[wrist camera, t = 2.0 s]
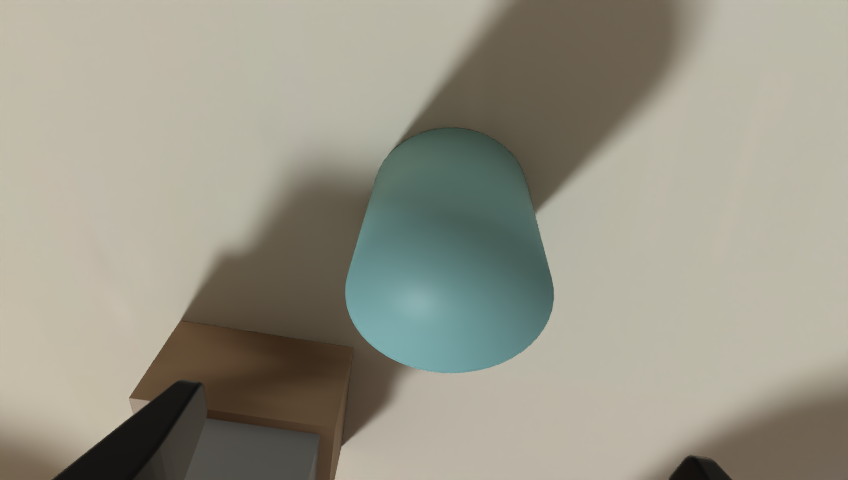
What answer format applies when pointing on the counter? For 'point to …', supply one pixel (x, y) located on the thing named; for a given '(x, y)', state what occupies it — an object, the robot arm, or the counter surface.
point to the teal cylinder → (450, 256)
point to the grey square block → (253, 453)
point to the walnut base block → (259, 381)
